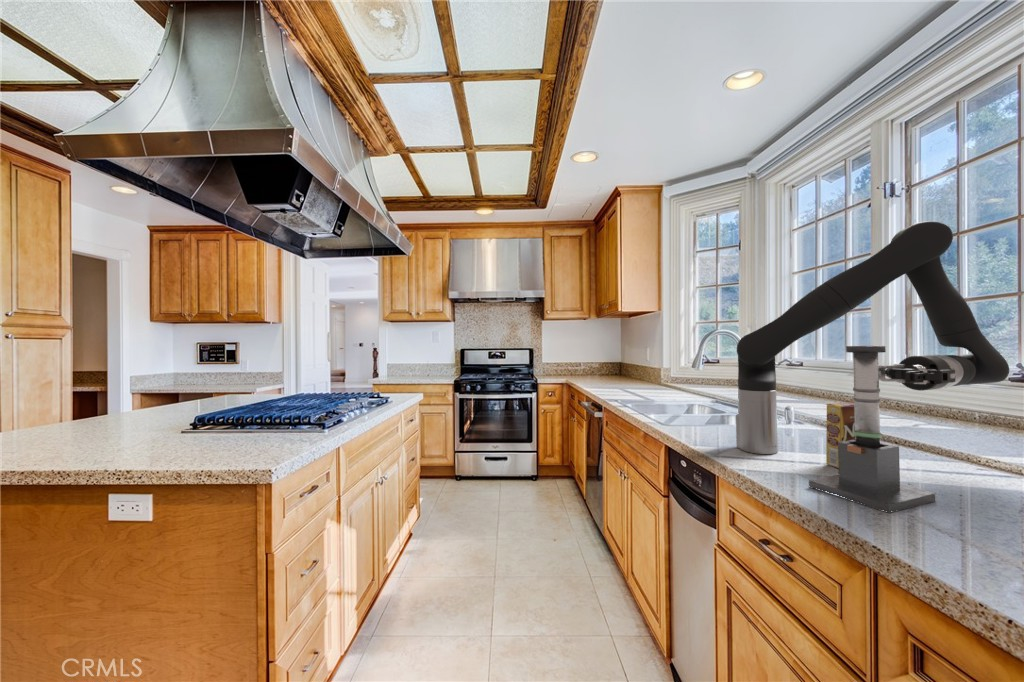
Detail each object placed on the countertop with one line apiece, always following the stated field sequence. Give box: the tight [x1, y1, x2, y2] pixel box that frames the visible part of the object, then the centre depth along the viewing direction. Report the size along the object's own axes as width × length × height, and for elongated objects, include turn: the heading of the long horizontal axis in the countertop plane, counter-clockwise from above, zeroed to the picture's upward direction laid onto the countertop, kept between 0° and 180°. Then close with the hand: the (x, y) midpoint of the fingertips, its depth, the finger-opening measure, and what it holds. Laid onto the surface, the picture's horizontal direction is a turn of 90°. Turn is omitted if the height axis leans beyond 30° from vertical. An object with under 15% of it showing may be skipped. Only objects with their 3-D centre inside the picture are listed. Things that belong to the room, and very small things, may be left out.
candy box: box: [825, 402, 855, 469], centre depth 99 cm, size 9×4×15 cm, turn 98°
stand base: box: [808, 440, 936, 513], centre depth 82 cm, size 14×14×10 cm
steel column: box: [845, 345, 887, 448], centre depth 82 cm, size 6×6×21 cm
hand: (881, 375), depth 83 cm, fingers open, 8 cm apart
